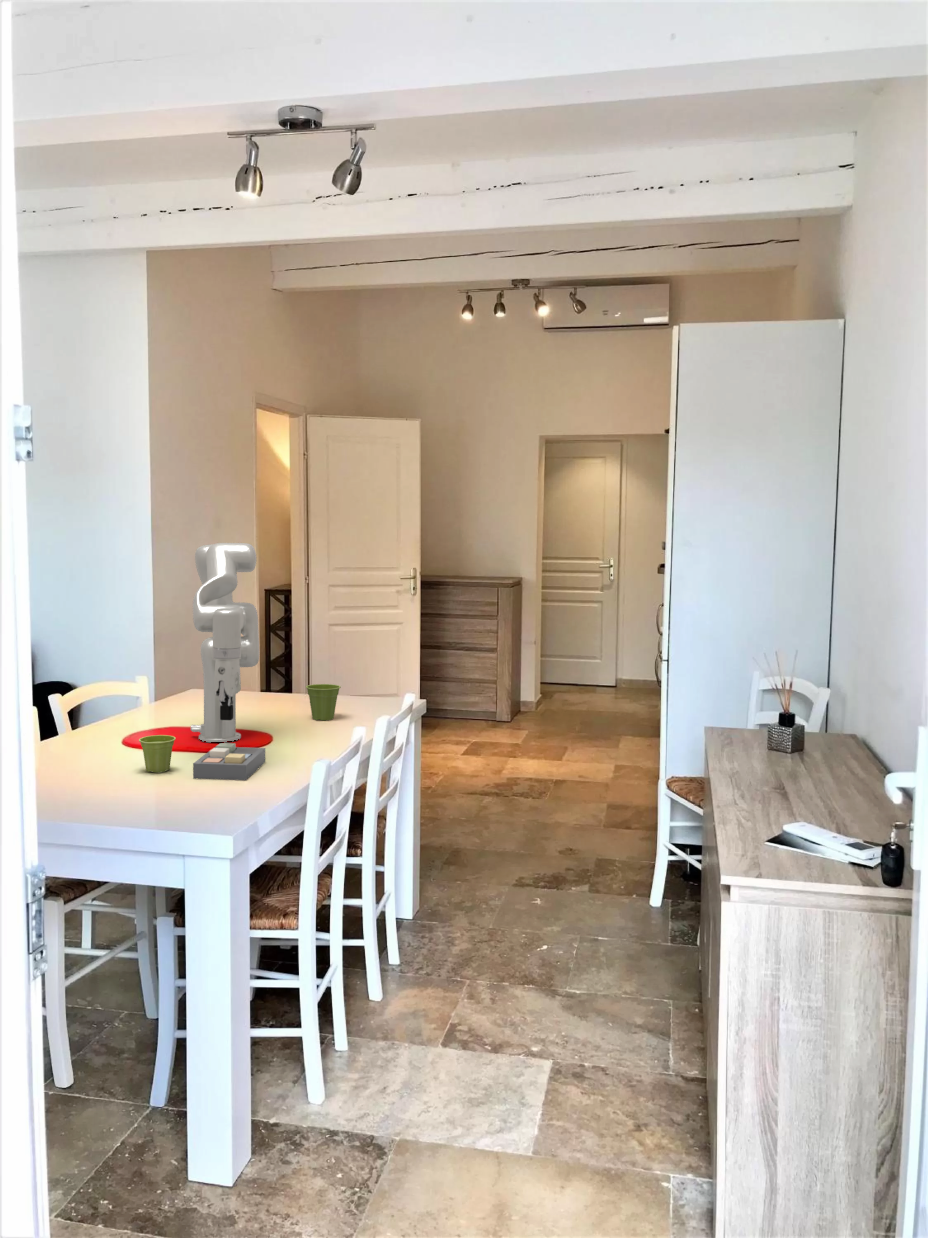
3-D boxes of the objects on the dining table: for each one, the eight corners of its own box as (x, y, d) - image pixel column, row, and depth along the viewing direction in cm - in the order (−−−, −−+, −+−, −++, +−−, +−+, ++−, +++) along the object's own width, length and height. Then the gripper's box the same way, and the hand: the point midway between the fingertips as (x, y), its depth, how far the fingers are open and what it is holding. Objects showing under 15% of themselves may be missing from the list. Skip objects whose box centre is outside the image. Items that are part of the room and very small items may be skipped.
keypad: (193, 778, 266) (193, 763, 265) (216, 760, 286) (216, 746, 285) (246, 780, 265) (246, 765, 265) (265, 762, 285) (265, 748, 284)
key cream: (209, 762, 273) (209, 751, 273) (214, 758, 277) (214, 747, 277) (224, 762, 273) (224, 751, 273) (229, 759, 277) (229, 748, 277)
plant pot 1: (142, 776, 267) (142, 743, 266) (136, 768, 275) (136, 736, 274) (179, 772, 271) (178, 740, 270) (171, 764, 280) (171, 733, 279)
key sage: (216, 757, 279) (216, 746, 279) (220, 753, 283) (220, 742, 283) (231, 757, 279) (231, 746, 279) (235, 754, 283) (235, 743, 283)
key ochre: (225, 768, 267) (225, 757, 267) (229, 764, 271) (229, 753, 271) (240, 769, 267) (240, 757, 266) (245, 765, 271) (245, 754, 271)
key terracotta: (202, 773, 267) (202, 761, 267) (207, 769, 272) (207, 758, 271) (218, 773, 267) (218, 762, 267) (222, 769, 271) (222, 758, 271)
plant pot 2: (347, 718, 349) (347, 686, 348) (325, 723, 339) (325, 690, 338) (321, 714, 355) (321, 682, 354) (298, 719, 345) (298, 686, 344)
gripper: (232, 658, 270) (232, 726, 273) (247, 650, 285) (247, 714, 287) (204, 657, 271) (205, 725, 273) (221, 649, 286) (221, 713, 288)
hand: (226, 719), depth 280 cm, fingers closed
